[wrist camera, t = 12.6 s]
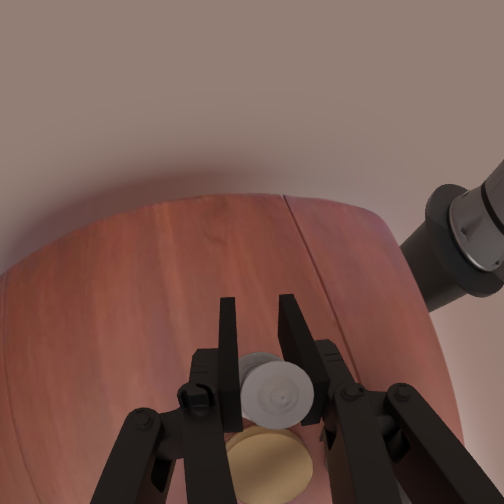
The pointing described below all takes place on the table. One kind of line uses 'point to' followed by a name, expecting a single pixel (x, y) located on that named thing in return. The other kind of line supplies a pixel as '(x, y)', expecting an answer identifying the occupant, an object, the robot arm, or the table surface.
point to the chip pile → (268, 465)
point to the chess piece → (273, 391)
